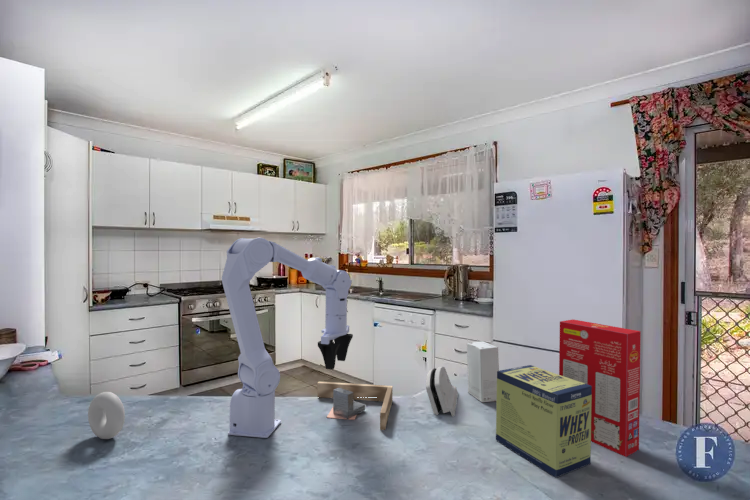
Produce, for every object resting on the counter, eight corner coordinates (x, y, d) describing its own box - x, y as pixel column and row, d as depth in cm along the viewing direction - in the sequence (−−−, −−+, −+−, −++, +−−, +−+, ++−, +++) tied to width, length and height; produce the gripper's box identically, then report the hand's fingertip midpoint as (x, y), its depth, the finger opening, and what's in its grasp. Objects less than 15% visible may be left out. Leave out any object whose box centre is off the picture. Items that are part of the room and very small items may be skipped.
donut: (128, 439, 83) (128, 393, 83) (112, 446, 80) (112, 399, 79) (101, 429, 87) (101, 386, 87) (84, 436, 84) (84, 391, 84)
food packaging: (638, 449, 80) (640, 331, 80) (625, 456, 77) (627, 334, 77) (571, 421, 92) (572, 319, 92) (558, 426, 90) (559, 321, 90)
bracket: (347, 419, 93) (348, 394, 93) (333, 413, 96) (333, 389, 96) (365, 410, 98) (365, 387, 98) (350, 405, 101) (350, 382, 101)
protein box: (557, 479, 70) (558, 394, 69) (494, 440, 83) (495, 369, 83) (592, 464, 74) (593, 385, 74) (527, 430, 88) (528, 363, 88)
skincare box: (500, 401, 104) (500, 347, 104) (480, 403, 103) (481, 348, 103) (484, 390, 113) (484, 340, 112) (465, 392, 111) (466, 341, 111)
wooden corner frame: (297, 423, 91) (297, 406, 90) (318, 395, 108) (318, 381, 108) (385, 430, 88) (385, 412, 88) (392, 400, 105) (392, 385, 105)
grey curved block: (454, 417, 94) (440, 378, 95) (436, 421, 96) (422, 382, 97) (458, 392, 111) (446, 359, 111) (442, 396, 112) (431, 363, 113)
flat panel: (326, 417, 94) (326, 417, 94) (334, 404, 102) (334, 403, 102) (354, 419, 93) (354, 419, 93) (360, 406, 101) (360, 405, 101)
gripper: (333, 309, 110) (333, 355, 111) (310, 318, 97) (309, 371, 97) (356, 310, 108) (355, 358, 108) (335, 319, 94) (335, 374, 95)
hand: (335, 364), depth 102 cm, fingers open, 7 cm apart
